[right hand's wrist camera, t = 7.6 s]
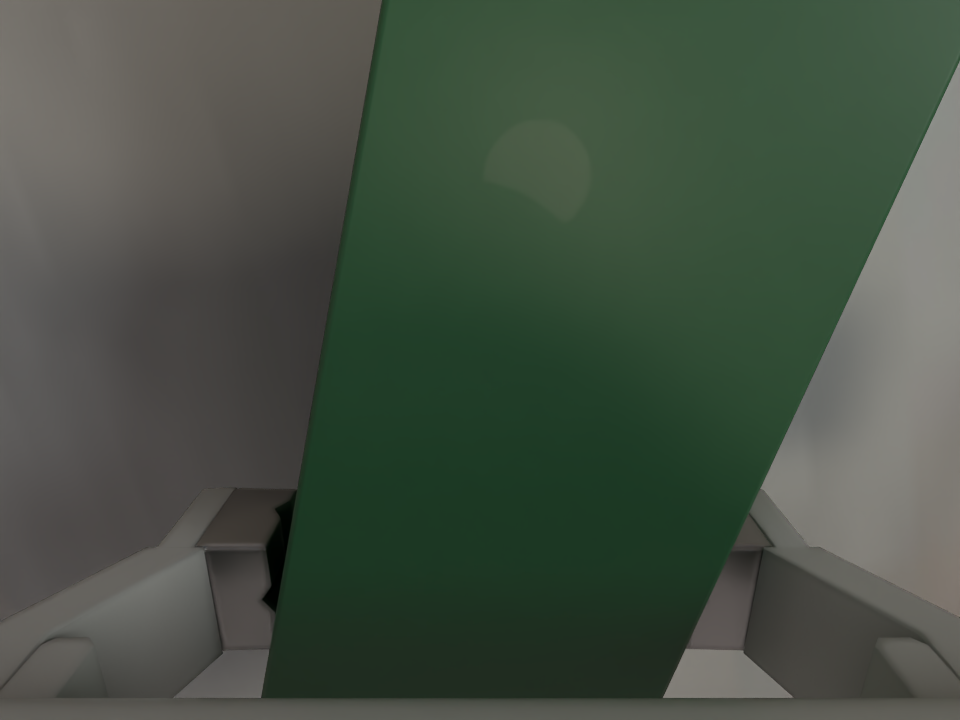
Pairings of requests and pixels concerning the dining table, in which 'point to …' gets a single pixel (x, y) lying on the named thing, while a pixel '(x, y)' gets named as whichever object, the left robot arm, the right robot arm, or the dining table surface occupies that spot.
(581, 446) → the elongated green cuboid
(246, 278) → the dining table surface
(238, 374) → the dining table surface
